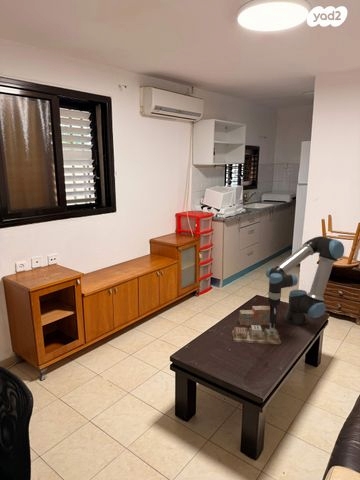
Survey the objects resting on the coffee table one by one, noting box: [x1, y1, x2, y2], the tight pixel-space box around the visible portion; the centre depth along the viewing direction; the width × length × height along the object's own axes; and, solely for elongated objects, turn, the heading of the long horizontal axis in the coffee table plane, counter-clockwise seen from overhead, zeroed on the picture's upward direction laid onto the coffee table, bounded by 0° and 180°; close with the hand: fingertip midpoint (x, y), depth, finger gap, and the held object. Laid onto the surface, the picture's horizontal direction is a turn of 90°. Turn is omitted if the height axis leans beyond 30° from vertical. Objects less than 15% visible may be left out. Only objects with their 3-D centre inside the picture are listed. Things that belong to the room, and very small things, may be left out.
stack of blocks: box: [238, 305, 271, 327], centre depth 233 cm, size 21×6×12 cm, turn 92°
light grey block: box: [265, 328, 277, 335], centre depth 213 cm, size 6×6×4 cm
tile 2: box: [250, 325, 263, 334], centre depth 214 cm, size 6×6×4 cm
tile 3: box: [236, 327, 246, 333], centre depth 215 cm, size 6×6×4 cm
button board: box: [231, 326, 282, 345], centre depth 214 cm, size 30×12×5 cm, turn 84°
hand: (271, 331), depth 213 cm, fingers closed
